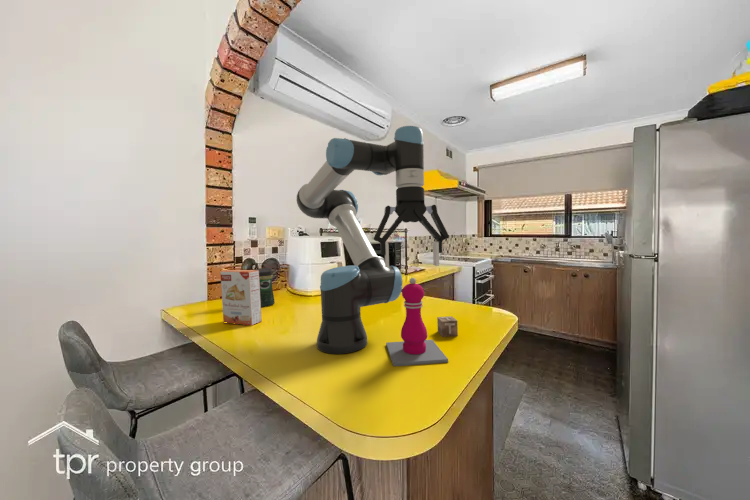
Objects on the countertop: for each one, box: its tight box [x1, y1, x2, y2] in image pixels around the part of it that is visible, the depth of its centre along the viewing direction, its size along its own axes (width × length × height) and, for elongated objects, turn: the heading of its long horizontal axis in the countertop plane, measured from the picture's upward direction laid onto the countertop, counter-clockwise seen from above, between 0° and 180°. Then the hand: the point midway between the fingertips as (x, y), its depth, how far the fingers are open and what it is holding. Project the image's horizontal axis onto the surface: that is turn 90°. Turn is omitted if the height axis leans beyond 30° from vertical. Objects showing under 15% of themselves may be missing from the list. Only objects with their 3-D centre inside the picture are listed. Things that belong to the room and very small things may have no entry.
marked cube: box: [436, 316, 459, 338], centre depth 93 cm, size 5×5×5 cm
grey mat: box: [385, 339, 449, 367], centre depth 79 cm, size 14×14×1 cm
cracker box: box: [220, 269, 262, 326], centre depth 113 cm, size 14×6×21 cm, turn 71°
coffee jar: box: [254, 267, 275, 308], centre depth 142 cm, size 10×8×19 cm
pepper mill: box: [400, 277, 428, 354], centre depth 78 cm, size 7×7×20 cm
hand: (411, 266), depth 78 cm, fingers open, 13 cm apart
